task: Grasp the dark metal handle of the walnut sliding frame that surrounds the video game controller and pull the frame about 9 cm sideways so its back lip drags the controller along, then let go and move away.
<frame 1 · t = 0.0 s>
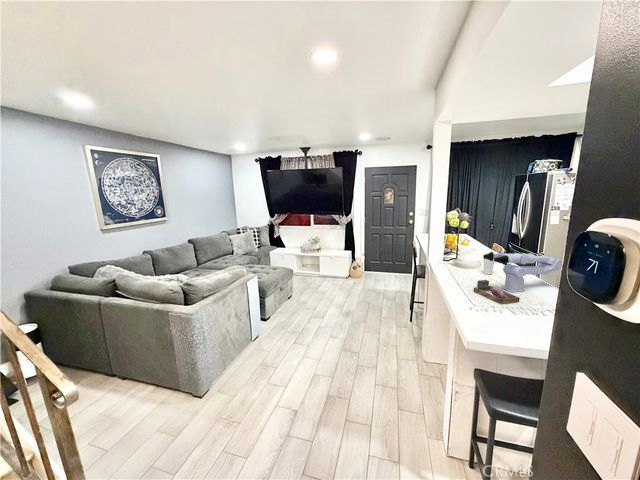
hand: (489, 258, 153), 22 cm above the table, tool horizontal, fingers open, 7 cm apart
sliding frame: (495, 290, 150), point 3 cm above the table, slide at 0.0 cm
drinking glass: (487, 274, 192), on the table
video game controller: (498, 298, 148), on the table
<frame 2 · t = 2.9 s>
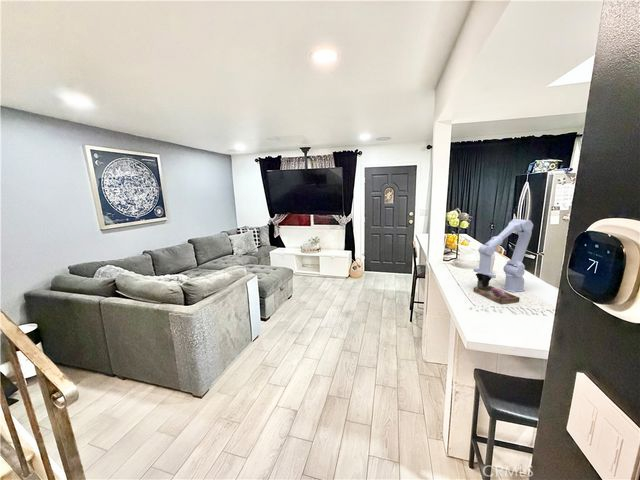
hand: (482, 285, 158), 3 cm above the table, tool pointing down, fingers closed on sliding frame, 2 cm apart
sliding frame: (495, 290, 150), point 3 cm above the table, slide at 0.0 cm, touching gripper
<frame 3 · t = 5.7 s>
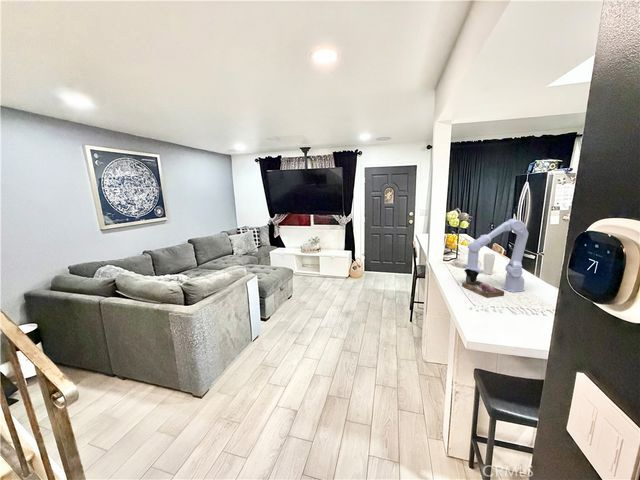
hand: (471, 280, 167), 3 cm above the table, tool pointing down, fingers closed on sliding frame, 2 cm apart
sliding frame: (481, 285, 159), point 3 cm above the table, slide at 9.5 cm, touching gripper, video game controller
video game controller: (487, 293, 156), on the table, touching sliding frame
everything else where it was.
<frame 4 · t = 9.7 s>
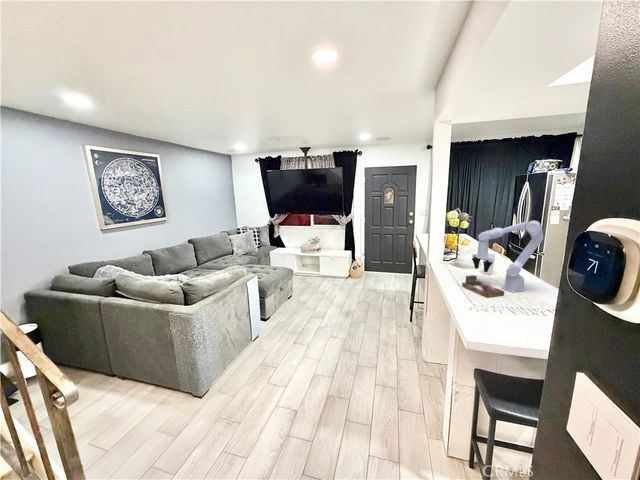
hand: (481, 270, 170), 9 cm above the table, tool pointing down, fingers open, 7 cm apart
sliding frame: (481, 285, 159), point 3 cm above the table, slide at 9.4 cm
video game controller: (488, 293, 156), on the table
everything else where it was.
at the end: sliding frame slide at 9.4 cm; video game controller inside the target area (1.4 cm from its centre), on the table; the gripper is holding nothing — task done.
